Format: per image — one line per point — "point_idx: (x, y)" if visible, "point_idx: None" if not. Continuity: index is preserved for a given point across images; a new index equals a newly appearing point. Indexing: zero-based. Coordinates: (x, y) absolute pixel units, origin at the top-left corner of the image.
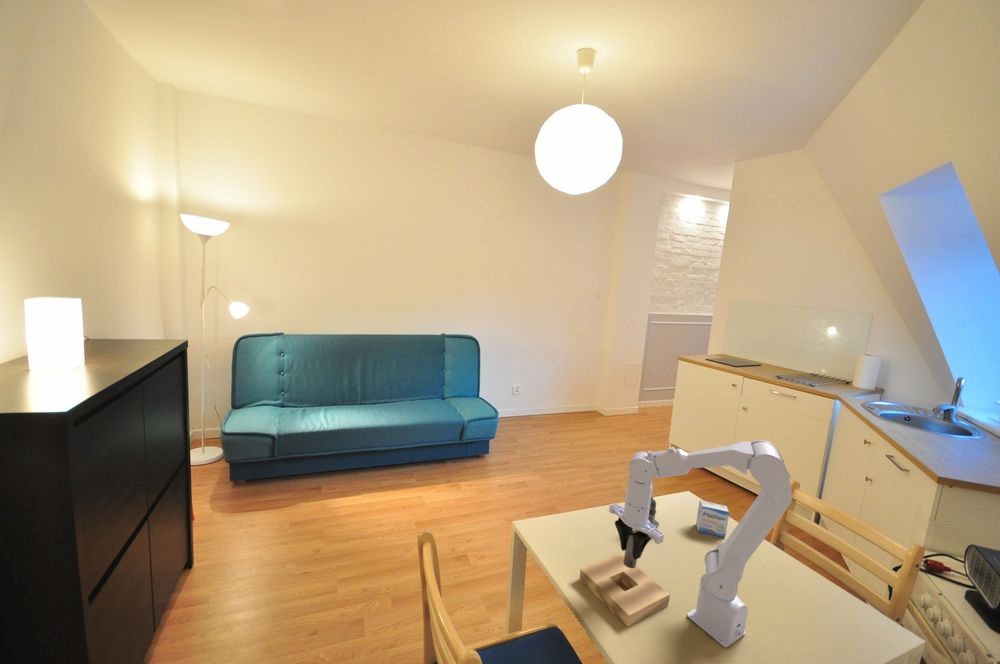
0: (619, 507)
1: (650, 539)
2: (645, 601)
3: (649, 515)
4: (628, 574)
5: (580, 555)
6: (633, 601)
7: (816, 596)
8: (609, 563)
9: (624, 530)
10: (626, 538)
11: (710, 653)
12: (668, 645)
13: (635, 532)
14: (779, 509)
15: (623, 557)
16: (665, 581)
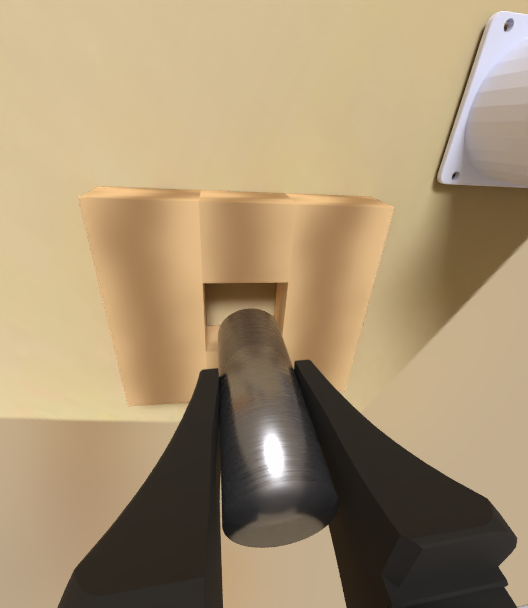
0: None
1: (430, 466)
2: (348, 319)
3: None
4: (227, 277)
5: (7, 304)
6: (323, 351)
7: None
8: (136, 300)
9: (219, 579)
10: (215, 460)
11: (517, 243)
12: (424, 318)
13: (269, 497)
14: None
15: (118, 206)
16: (294, 61)
